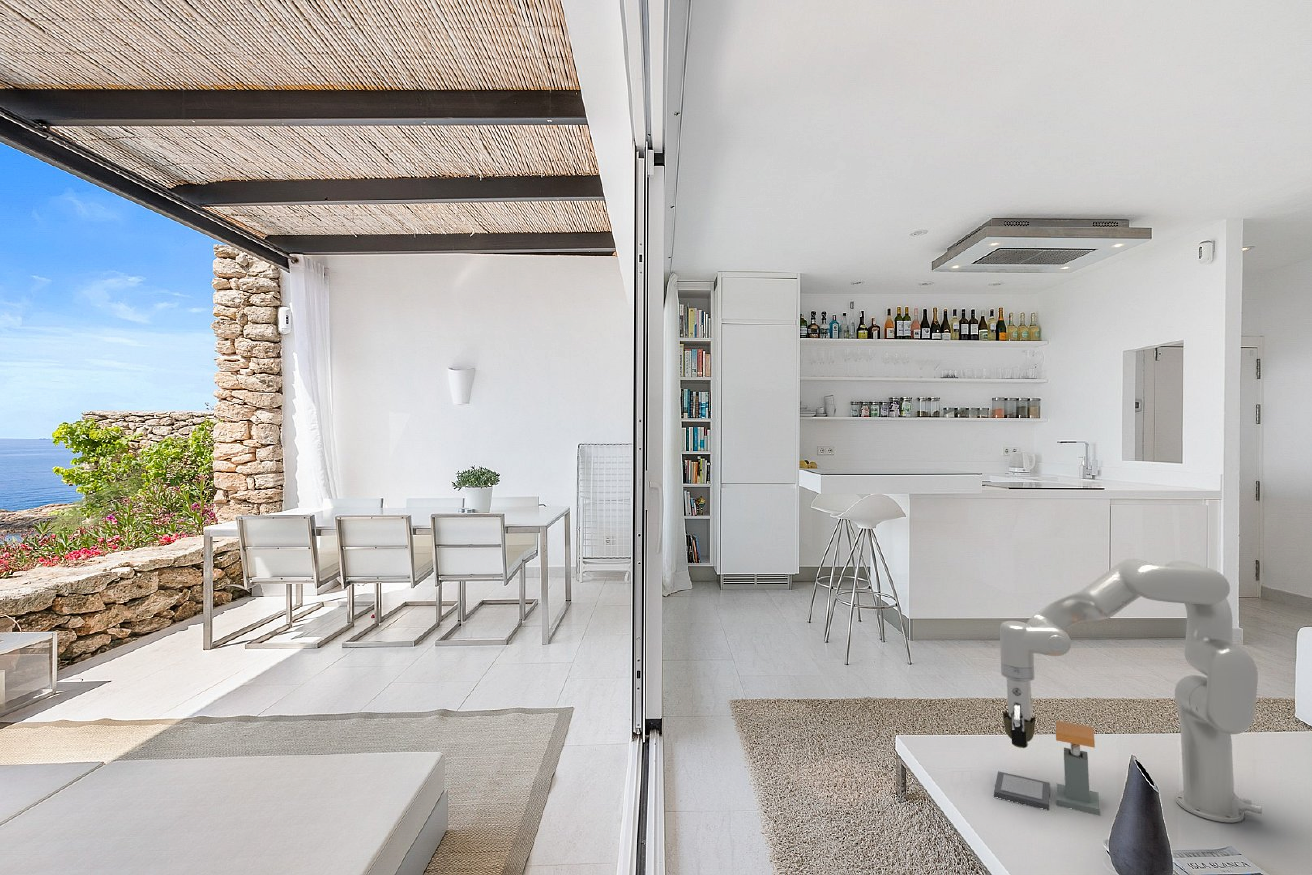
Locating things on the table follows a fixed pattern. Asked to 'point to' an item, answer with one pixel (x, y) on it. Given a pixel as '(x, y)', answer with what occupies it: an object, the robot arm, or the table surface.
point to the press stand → (1077, 785)
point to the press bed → (1022, 790)
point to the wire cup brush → (1028, 724)
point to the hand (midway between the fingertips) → (1019, 739)
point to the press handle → (1075, 736)
